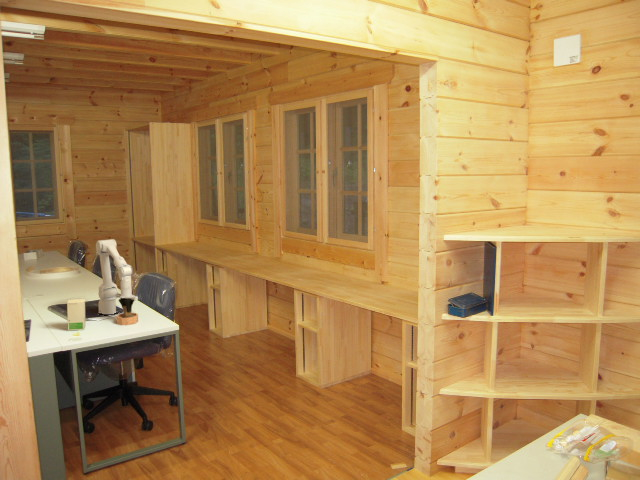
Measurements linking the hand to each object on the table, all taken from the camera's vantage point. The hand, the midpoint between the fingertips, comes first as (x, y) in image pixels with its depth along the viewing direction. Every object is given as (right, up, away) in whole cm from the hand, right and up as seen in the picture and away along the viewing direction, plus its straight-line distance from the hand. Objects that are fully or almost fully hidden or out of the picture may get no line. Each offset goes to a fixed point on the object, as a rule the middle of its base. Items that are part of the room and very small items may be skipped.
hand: (127, 311), depth 302 cm
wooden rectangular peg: (0, -4, 0) cm, 4 cm away
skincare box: (-23, -8, -11) cm, 27 cm away
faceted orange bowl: (0, -6, +1) cm, 6 cm away
